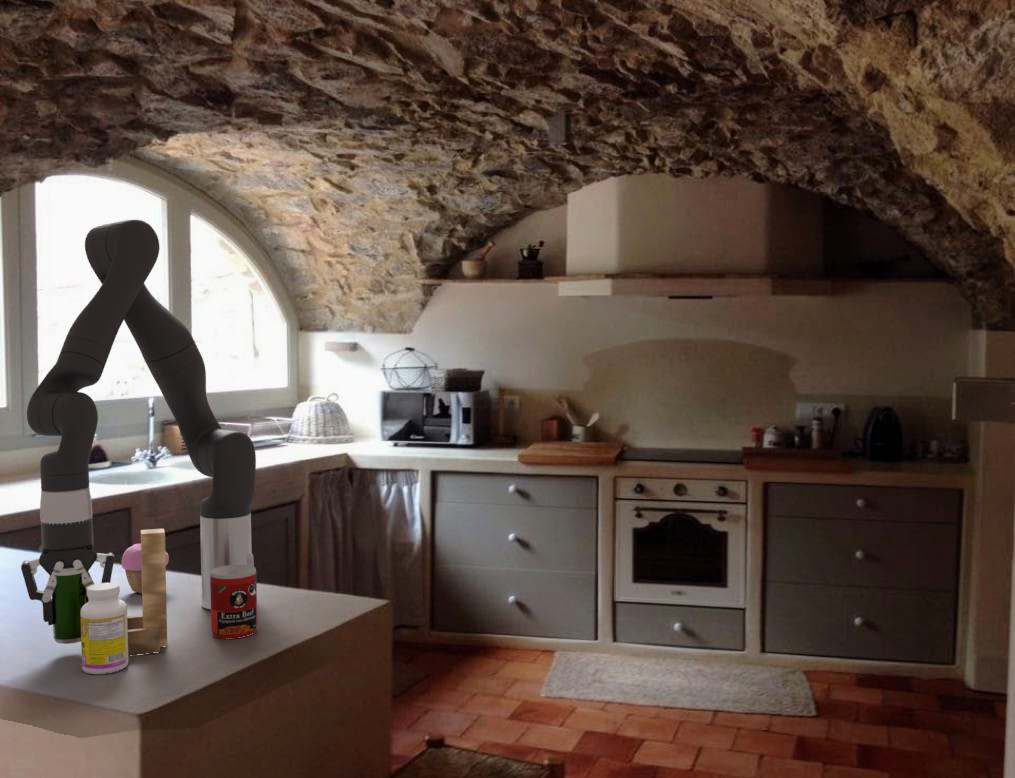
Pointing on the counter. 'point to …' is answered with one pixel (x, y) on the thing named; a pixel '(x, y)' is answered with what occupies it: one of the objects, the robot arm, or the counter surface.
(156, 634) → the channel
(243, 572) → the canned food
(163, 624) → the bar
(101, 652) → the supplement bottle
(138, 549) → the cupcake
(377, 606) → the counter surface
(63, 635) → the beer can
